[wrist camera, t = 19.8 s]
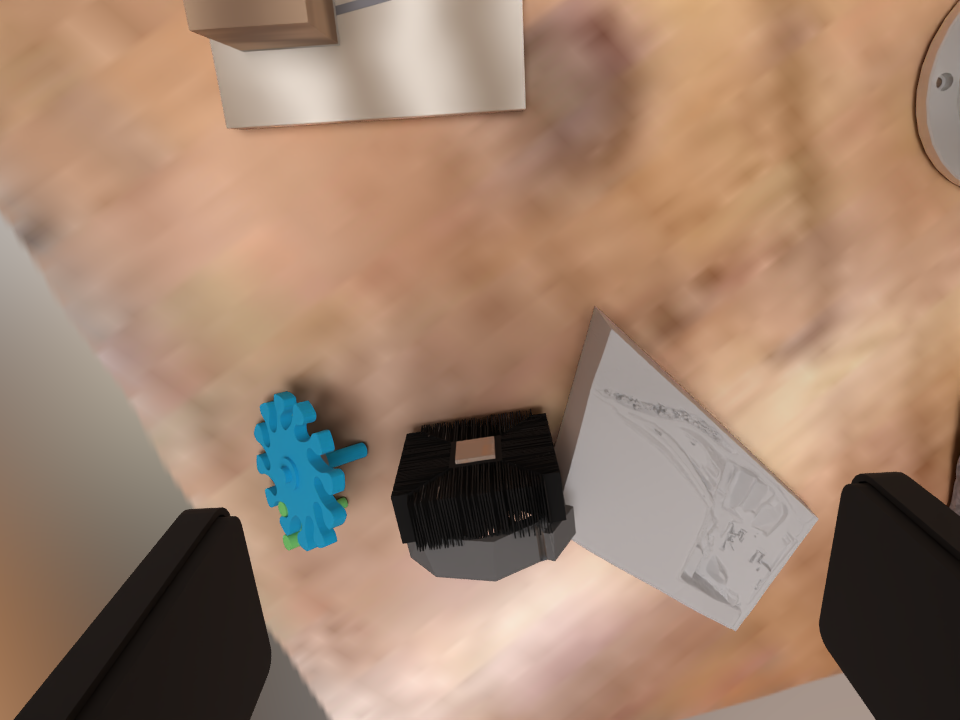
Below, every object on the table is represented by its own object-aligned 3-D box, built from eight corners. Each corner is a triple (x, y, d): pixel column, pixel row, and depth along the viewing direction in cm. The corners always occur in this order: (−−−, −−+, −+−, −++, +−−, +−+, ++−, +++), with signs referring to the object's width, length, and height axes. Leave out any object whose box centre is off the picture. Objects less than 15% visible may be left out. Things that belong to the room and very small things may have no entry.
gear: (250, 366, 37) (334, 460, 31) (334, 351, 41) (422, 432, 35) (240, 499, 42) (311, 601, 36) (315, 473, 46) (390, 562, 40)
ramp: (833, 573, 45) (879, 628, 40) (641, 650, 47) (660, 711, 42) (699, 247, 36) (735, 264, 31) (473, 362, 39) (473, 395, 34)
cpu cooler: (416, 494, 42) (397, 597, 32) (399, 422, 40) (373, 510, 30) (561, 473, 41) (586, 572, 32) (551, 399, 39) (574, 481, 30)
